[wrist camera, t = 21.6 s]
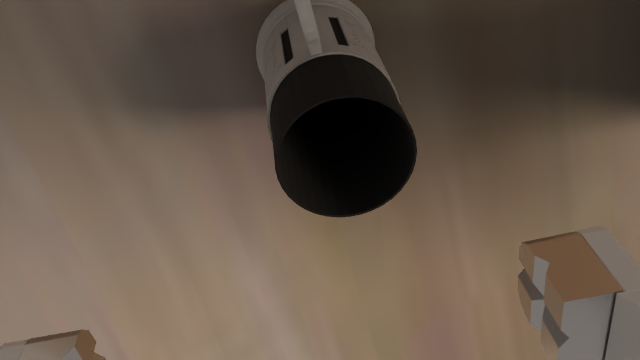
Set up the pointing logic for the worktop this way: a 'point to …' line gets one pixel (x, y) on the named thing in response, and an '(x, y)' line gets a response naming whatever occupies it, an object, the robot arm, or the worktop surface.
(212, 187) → the worktop surface
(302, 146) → the glass holder
